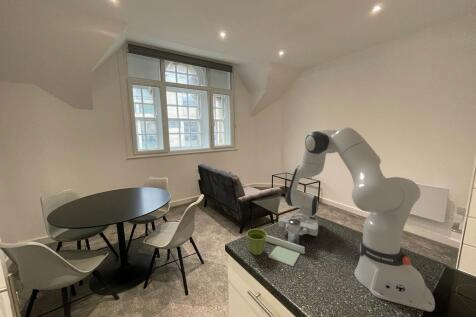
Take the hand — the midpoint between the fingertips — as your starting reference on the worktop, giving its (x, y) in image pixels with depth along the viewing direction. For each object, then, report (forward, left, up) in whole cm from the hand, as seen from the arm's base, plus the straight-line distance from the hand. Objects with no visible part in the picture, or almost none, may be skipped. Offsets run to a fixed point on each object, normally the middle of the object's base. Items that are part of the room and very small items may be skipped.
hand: (293, 231), depth 97 cm
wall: (+3, +6, -6) cm, 9 cm away
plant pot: (+12, +16, -6) cm, 21 cm away
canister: (0, -1, -6) cm, 6 cm away
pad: (0, +12, -6) cm, 14 cm away
